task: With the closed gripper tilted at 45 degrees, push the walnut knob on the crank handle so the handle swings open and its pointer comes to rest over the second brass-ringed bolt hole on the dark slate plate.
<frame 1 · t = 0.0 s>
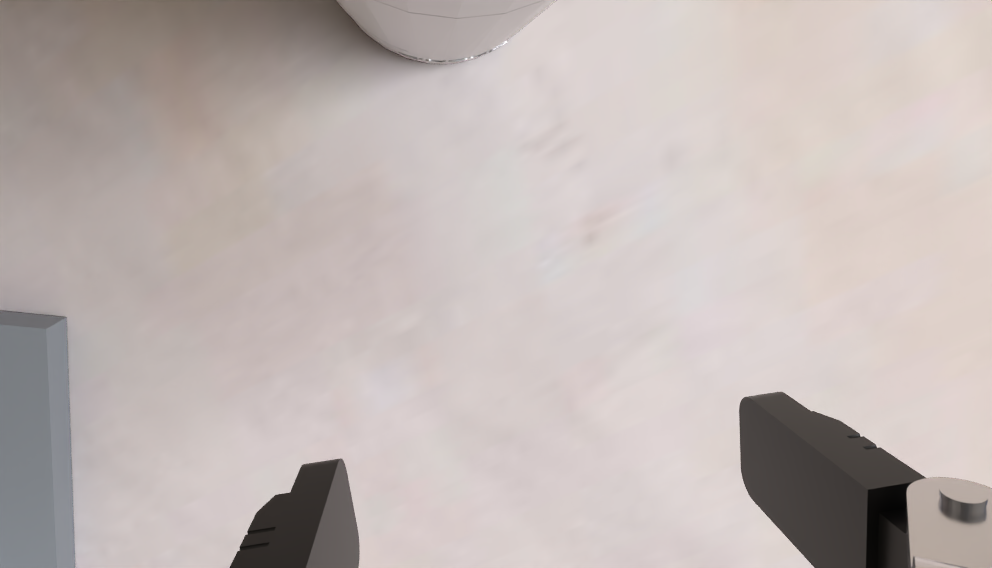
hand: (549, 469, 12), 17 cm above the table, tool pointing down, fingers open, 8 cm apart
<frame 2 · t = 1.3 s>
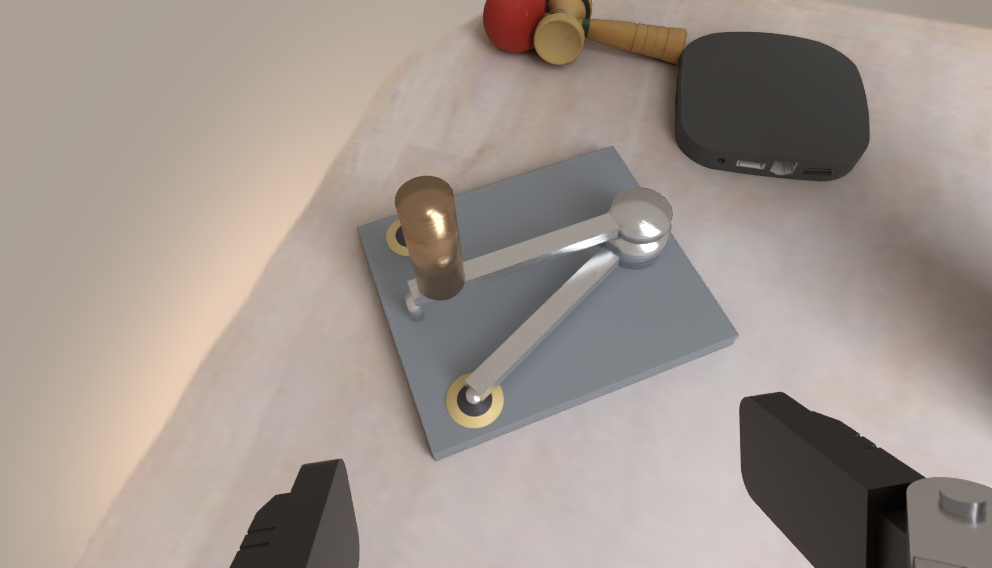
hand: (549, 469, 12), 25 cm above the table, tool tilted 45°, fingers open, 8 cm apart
divider pivot: (567, 293, 40), on the hole plate, point 2 cm above the table
kendama: (580, 52, 57), on the table
crank handle: (542, 223, 37), point 8 cm above the table, hinge at 0.0°
media streaming box: (760, 116, 52), on the table
hole plate: (629, 255, 45), on the table
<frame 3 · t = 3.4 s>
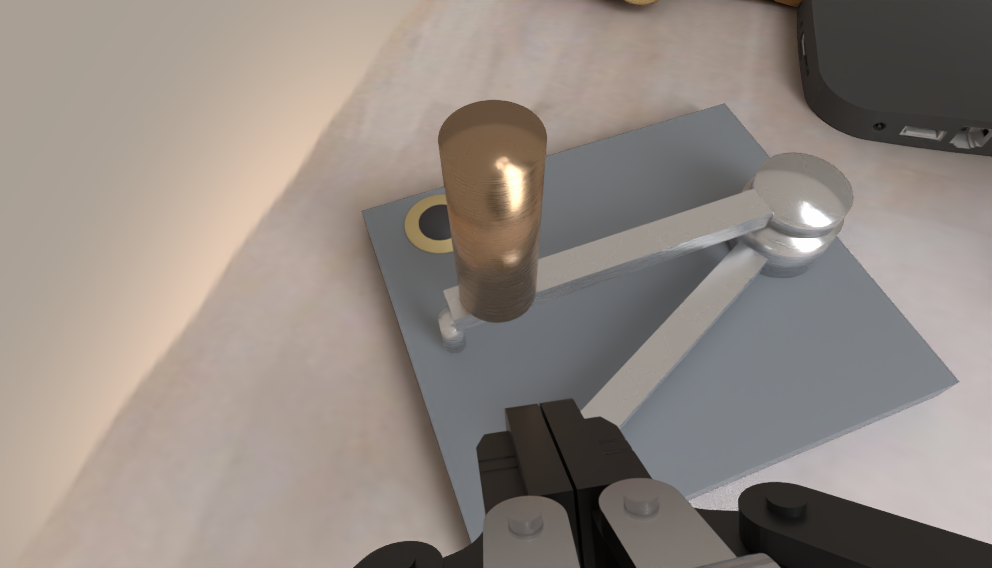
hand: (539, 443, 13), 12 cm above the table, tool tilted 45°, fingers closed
divider pivot: (688, 313, 26), on the hole plate, point 2 cm above the table
crank handle: (665, 199, 23), point 8 cm above the table, hinge at 0.0°
media streaming box: (915, 73, 38), on the table
hole plate: (760, 257, 30), on the table
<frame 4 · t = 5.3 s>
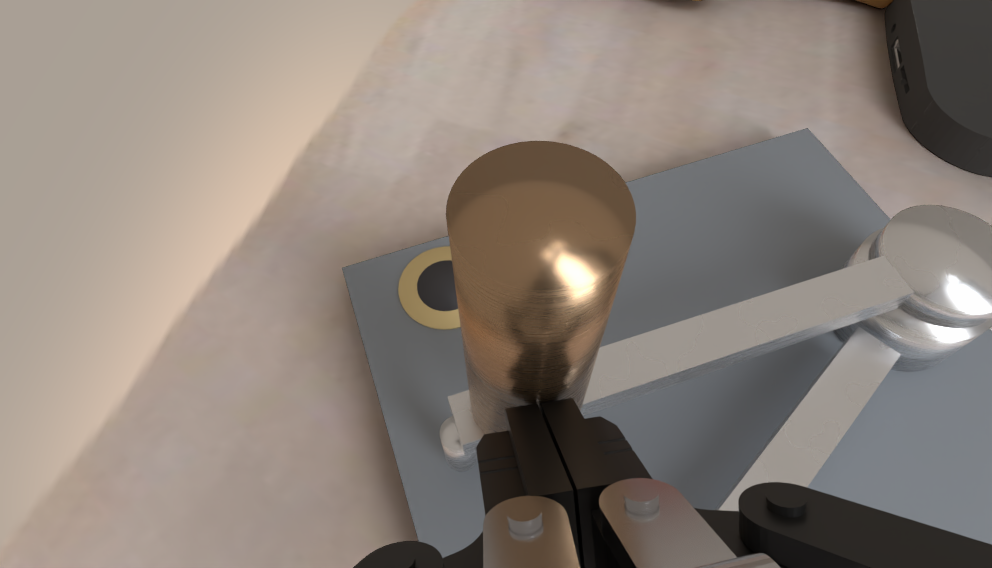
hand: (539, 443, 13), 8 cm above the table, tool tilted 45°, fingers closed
divider pivot: (792, 430, 18), on the hole plate, point 2 cm above the table
crank handle: (777, 279, 15), point 8 cm above the table, hinge at 1.4°, touching gripper
hole plate: (866, 334, 23), on the table
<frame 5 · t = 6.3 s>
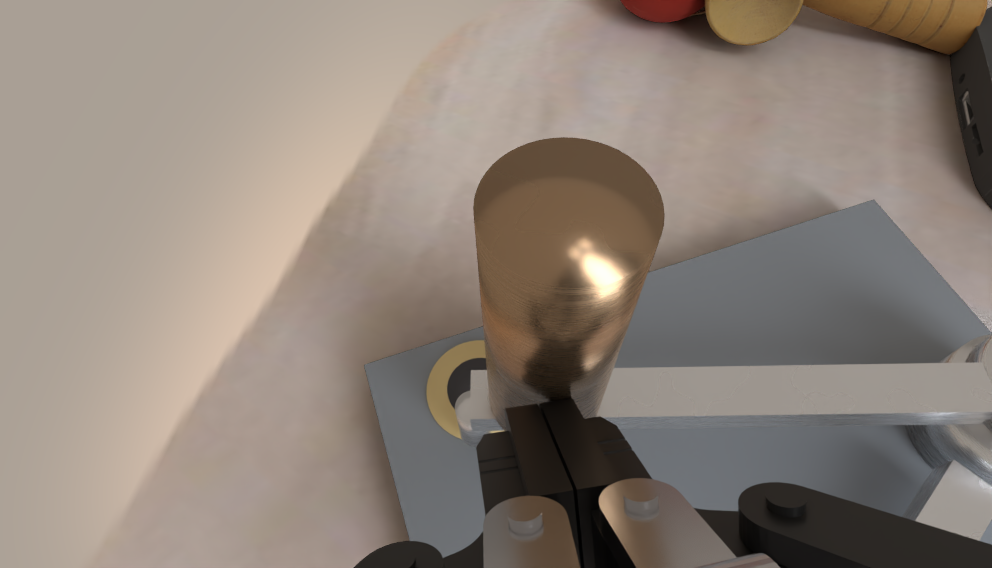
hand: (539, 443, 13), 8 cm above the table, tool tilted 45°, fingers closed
kendama: (769, 28, 33), on the table
crank handle: (836, 351, 14), point 8 cm above the table, hinge at 19.1°, touching gripper
hole plate: (947, 444, 21), on the table
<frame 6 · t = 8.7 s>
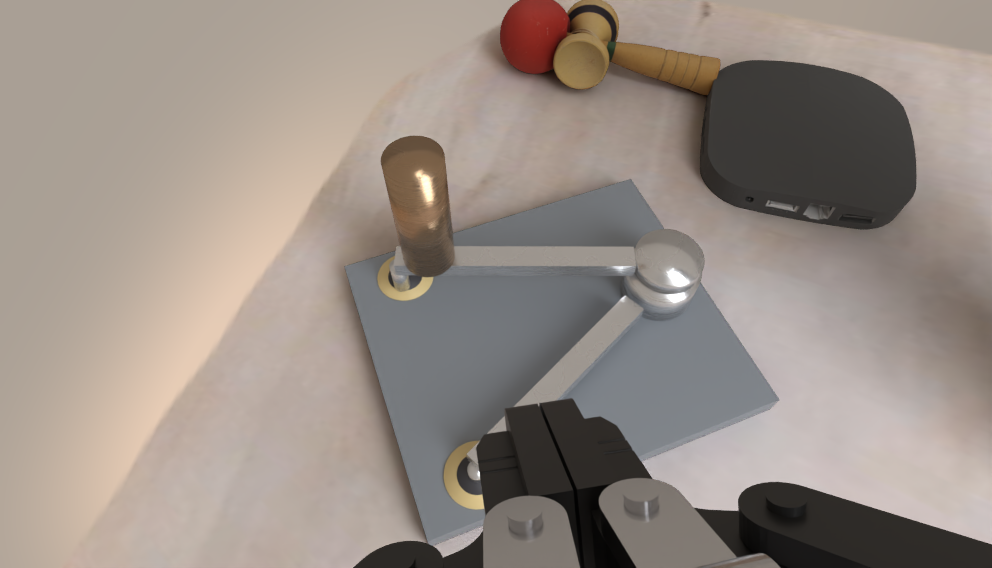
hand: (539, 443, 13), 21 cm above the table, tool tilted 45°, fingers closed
divider pivot: (583, 349, 35), on the hole plate, point 2 cm above the table
kendama: (603, 77, 53), on the table
crank handle: (547, 230, 33), point 8 cm above the table, hinge at 21.4°
media streaming box: (794, 153, 48), on the table
hole plate: (650, 302, 40), on the table
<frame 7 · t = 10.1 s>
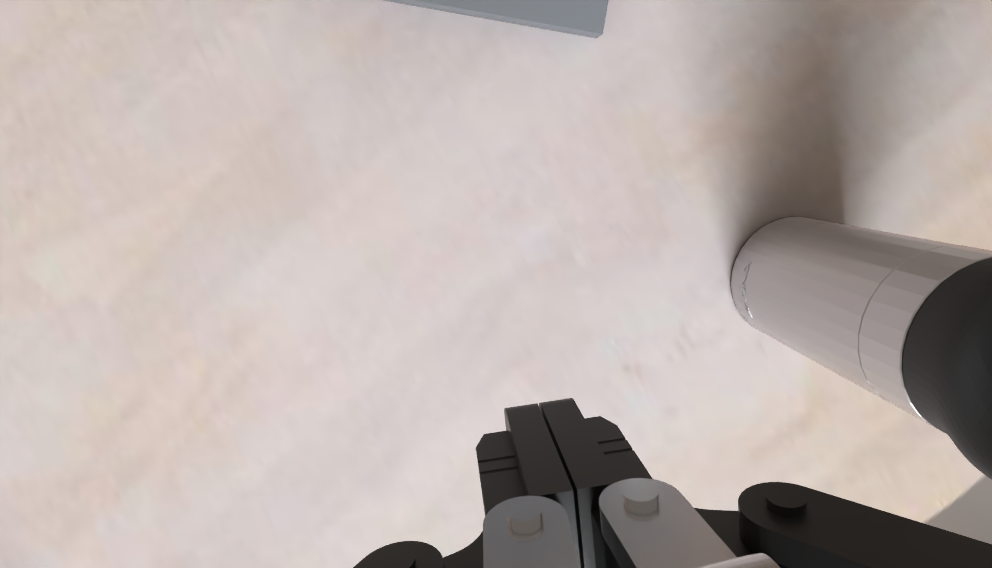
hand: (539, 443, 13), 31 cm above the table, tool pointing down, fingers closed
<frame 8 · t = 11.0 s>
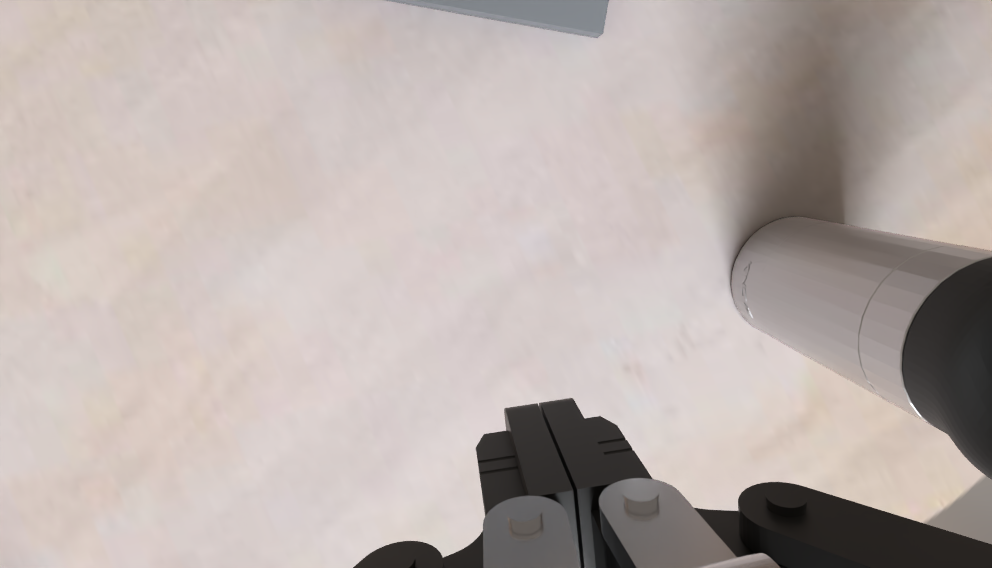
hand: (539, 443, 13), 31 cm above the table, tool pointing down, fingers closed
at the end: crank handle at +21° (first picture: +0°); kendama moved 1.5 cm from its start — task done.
